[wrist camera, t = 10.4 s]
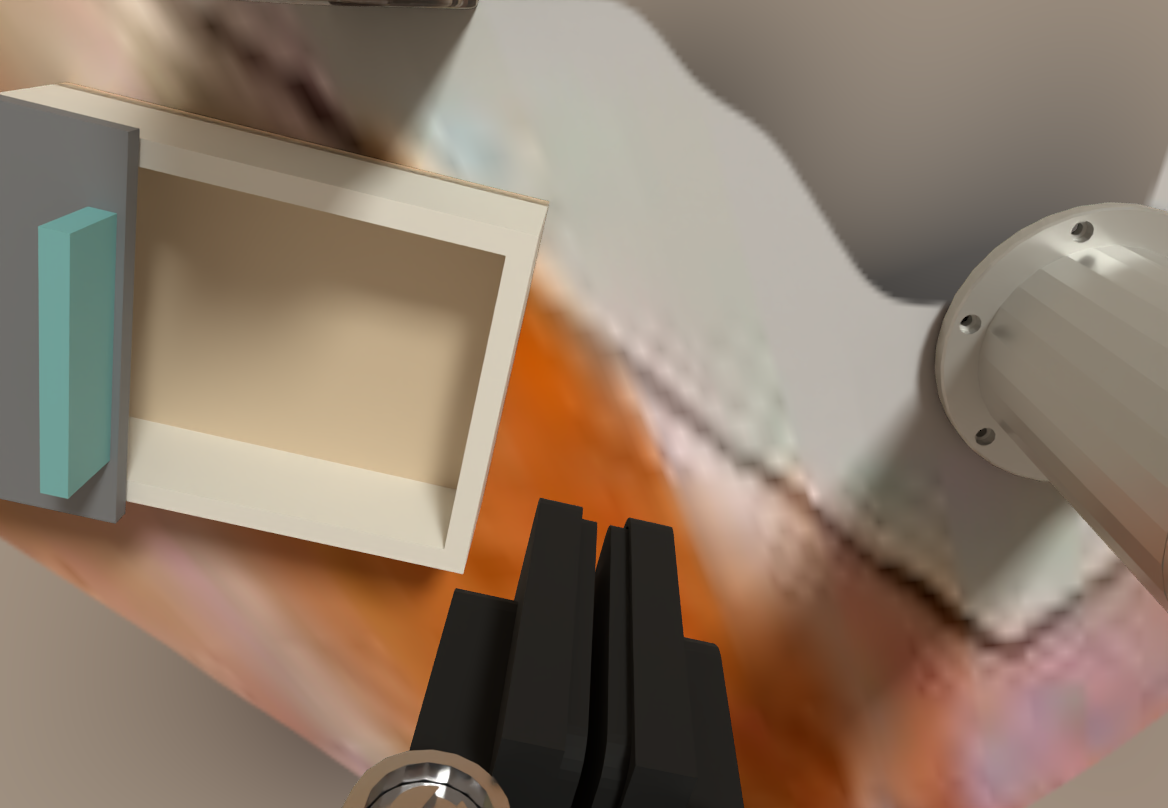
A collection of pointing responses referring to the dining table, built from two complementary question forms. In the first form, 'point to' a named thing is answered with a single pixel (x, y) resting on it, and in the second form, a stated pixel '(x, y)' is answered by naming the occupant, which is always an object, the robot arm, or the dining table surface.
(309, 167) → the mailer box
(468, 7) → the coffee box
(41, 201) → the lid
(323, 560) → the dining table surface
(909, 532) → the dining table surface
